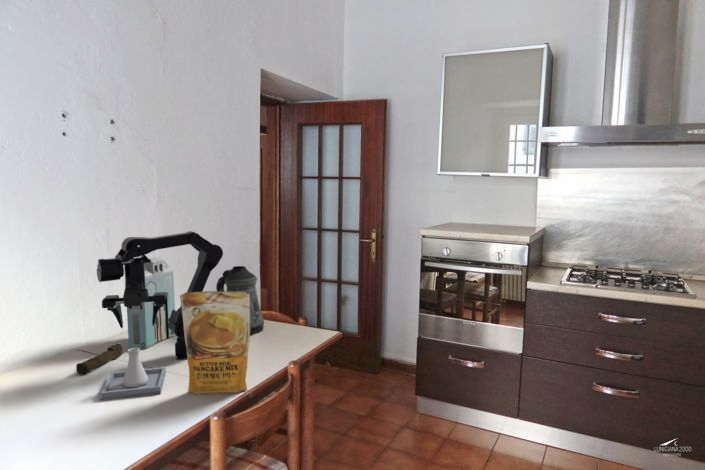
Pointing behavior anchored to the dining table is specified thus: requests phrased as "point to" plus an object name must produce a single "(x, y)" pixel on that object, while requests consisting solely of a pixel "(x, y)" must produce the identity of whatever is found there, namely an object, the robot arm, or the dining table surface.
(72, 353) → the dining table surface
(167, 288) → the light blue box
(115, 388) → the parts tray
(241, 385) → the pancake mix bag
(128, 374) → the flask
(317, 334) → the dining table surface
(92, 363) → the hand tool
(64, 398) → the dining table surface
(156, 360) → the dining table surface
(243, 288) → the dark grey coffee pot
